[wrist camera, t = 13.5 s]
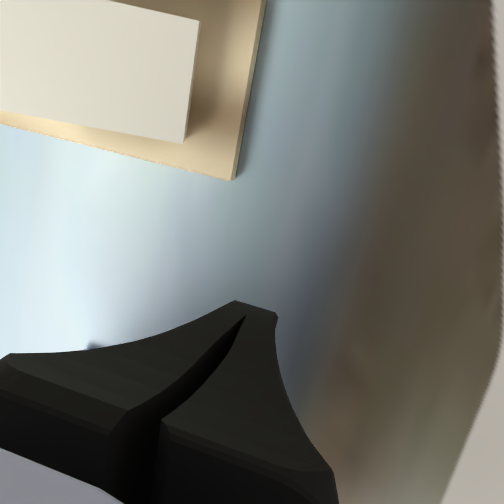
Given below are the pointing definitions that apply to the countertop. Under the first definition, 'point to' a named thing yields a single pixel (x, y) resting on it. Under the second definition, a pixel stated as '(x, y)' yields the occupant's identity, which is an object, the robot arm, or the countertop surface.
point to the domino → (98, 65)
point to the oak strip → (203, 93)
